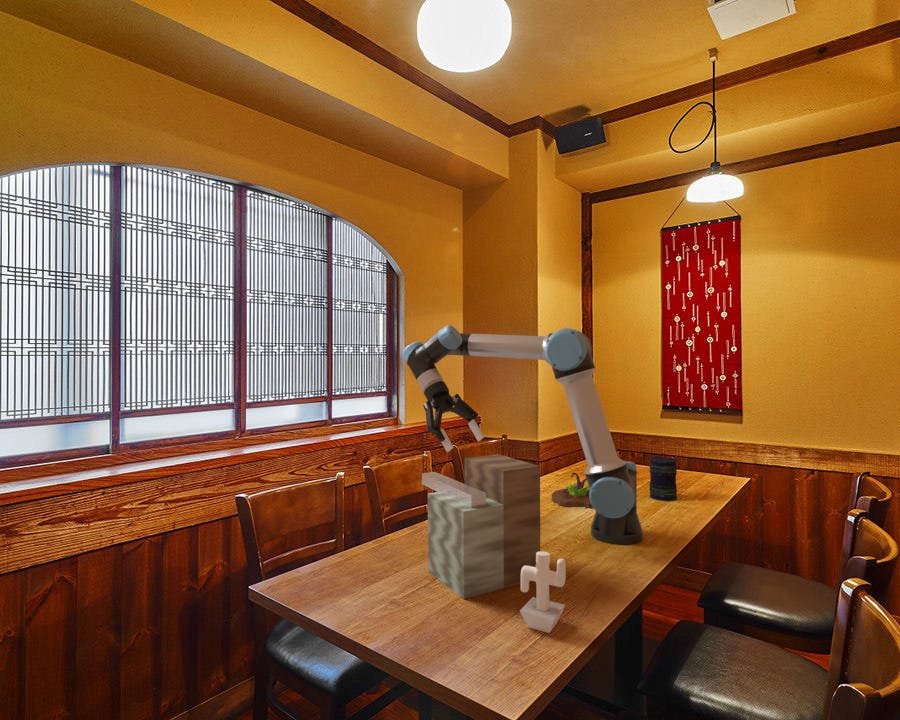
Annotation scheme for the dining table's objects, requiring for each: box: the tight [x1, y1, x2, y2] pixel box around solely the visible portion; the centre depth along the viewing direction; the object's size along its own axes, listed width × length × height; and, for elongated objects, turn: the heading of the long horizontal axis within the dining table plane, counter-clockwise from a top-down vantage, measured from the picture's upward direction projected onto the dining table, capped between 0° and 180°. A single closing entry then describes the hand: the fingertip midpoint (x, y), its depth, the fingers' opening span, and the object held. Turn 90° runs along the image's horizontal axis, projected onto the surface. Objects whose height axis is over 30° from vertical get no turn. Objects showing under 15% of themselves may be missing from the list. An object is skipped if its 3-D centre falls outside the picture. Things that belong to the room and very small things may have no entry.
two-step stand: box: [427, 454, 541, 600], centre depth 133 cm, size 18×22×28 cm
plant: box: [551, 472, 594, 509], centre depth 200 cm, size 20×20×11 cm
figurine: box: [519, 550, 567, 634], centre depth 108 cm, size 7×9×15 cm
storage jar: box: [649, 456, 678, 502], centre depth 205 cm, size 10×10×15 cm
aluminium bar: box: [421, 471, 486, 508], centre depth 135 cm, size 26×4×3 cm, turn 29°
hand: (466, 444), depth 160 cm, fingers open, 13 cm apart
